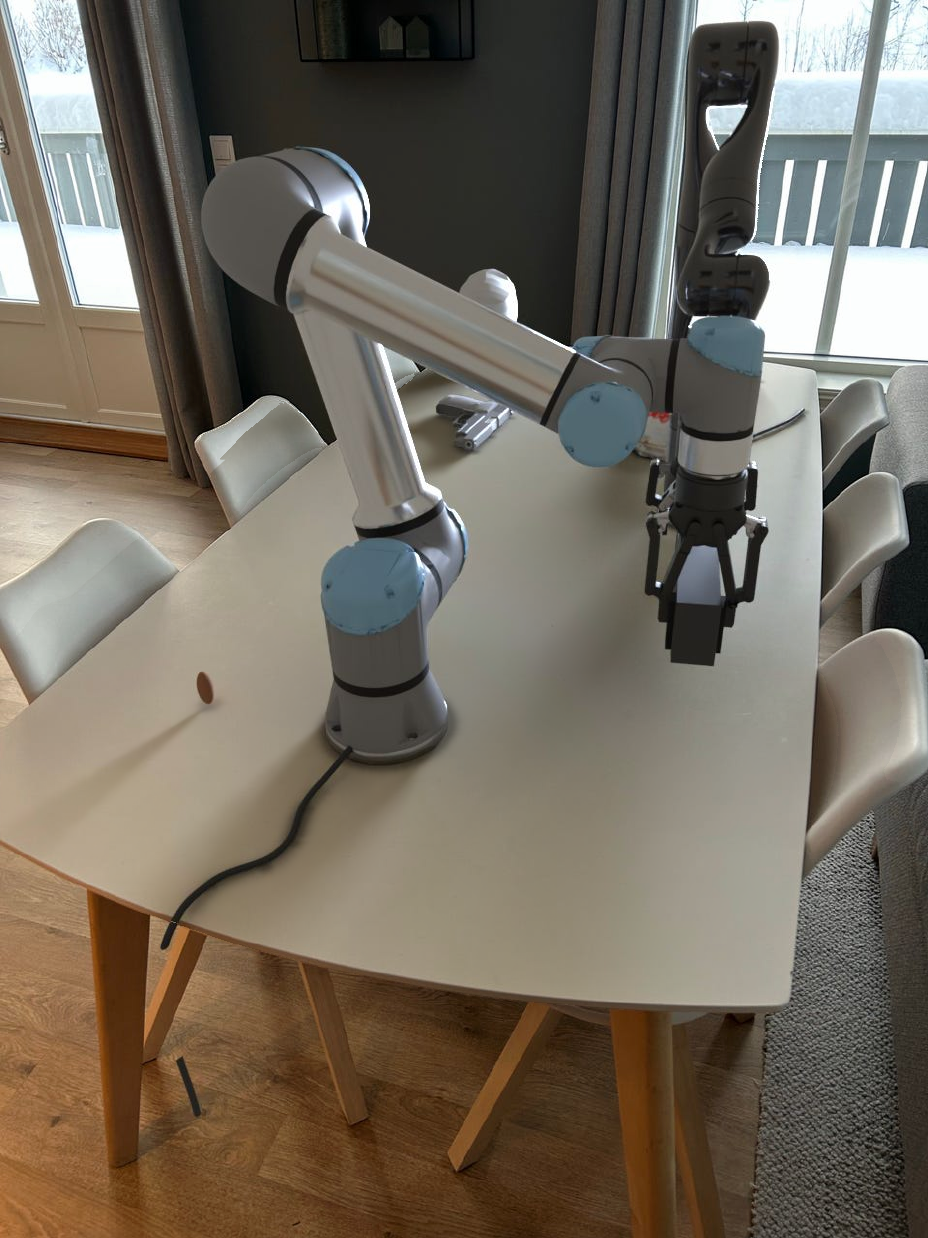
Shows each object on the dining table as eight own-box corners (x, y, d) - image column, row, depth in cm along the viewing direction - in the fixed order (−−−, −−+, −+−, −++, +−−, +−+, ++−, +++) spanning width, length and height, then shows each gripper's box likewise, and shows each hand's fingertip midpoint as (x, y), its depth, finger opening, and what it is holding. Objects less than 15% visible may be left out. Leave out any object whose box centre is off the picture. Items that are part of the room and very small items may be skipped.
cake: (752, 431, 195) (758, 385, 190) (713, 470, 178) (719, 421, 173) (651, 415, 206) (654, 372, 201) (606, 451, 189) (608, 404, 184)
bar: (713, 666, 108) (721, 605, 103) (670, 662, 109) (676, 602, 104) (710, 562, 130) (716, 508, 125) (673, 559, 131) (678, 506, 126)
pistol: (401, 445, 198) (477, 454, 191) (400, 428, 196) (476, 436, 189) (449, 406, 217) (519, 413, 210) (448, 390, 215) (519, 397, 208)
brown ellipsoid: (219, 703, 119) (212, 671, 116) (206, 710, 118) (198, 678, 115) (211, 696, 120) (204, 665, 117) (198, 703, 119) (190, 672, 116)
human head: (525, 334, 255) (519, 254, 235) (516, 385, 243) (510, 305, 223) (470, 333, 258) (461, 254, 237) (459, 384, 246) (448, 305, 226)
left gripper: (796, 457, 100) (767, 634, 112) (630, 450, 103) (619, 623, 116) (803, 484, 94) (772, 669, 106) (626, 476, 97) (615, 656, 109)
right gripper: (764, 412, 117) (748, 525, 126) (652, 408, 120) (644, 520, 129) (768, 432, 111) (751, 550, 119) (650, 427, 114) (642, 543, 122)
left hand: (692, 645), depth 111 cm, fingers closed on bar, 5 cm apart
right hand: (696, 534), depth 124 cm, fingers open, 8 cm apart
